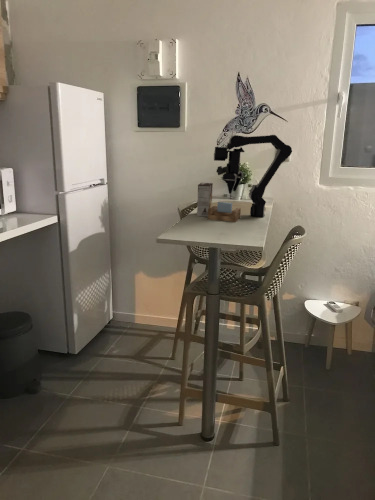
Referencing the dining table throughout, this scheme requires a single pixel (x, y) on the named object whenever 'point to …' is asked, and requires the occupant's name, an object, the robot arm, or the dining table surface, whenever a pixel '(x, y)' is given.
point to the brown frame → (223, 214)
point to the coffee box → (204, 198)
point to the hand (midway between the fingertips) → (232, 192)
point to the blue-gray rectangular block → (224, 207)
